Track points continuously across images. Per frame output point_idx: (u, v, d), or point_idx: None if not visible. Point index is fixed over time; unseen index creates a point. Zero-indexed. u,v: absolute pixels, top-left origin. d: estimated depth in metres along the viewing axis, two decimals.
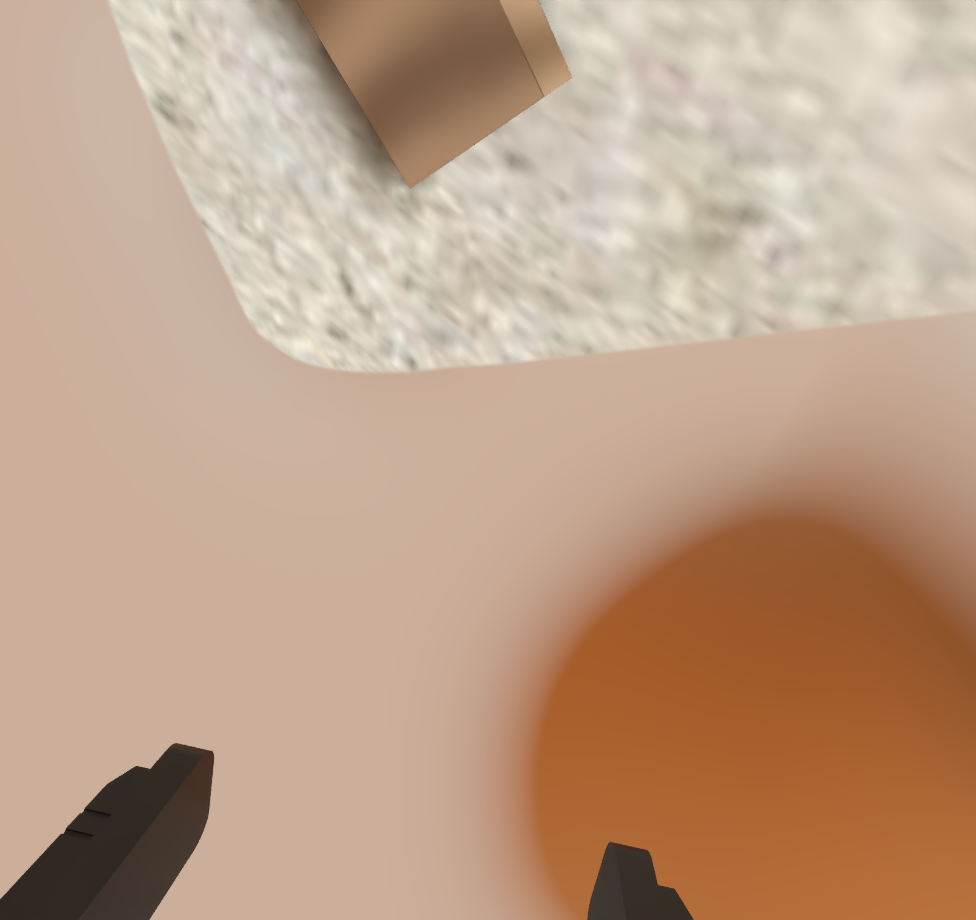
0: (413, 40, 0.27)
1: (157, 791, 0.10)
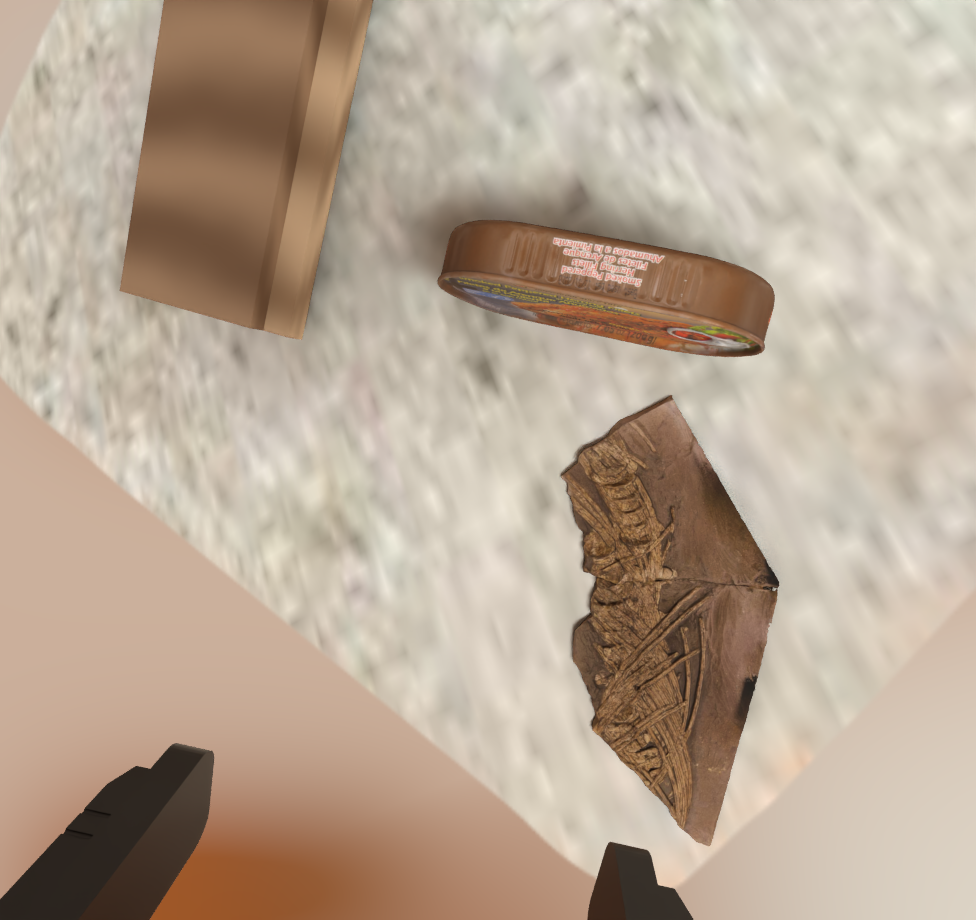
0: (198, 210, 0.30)
1: (157, 791, 0.10)
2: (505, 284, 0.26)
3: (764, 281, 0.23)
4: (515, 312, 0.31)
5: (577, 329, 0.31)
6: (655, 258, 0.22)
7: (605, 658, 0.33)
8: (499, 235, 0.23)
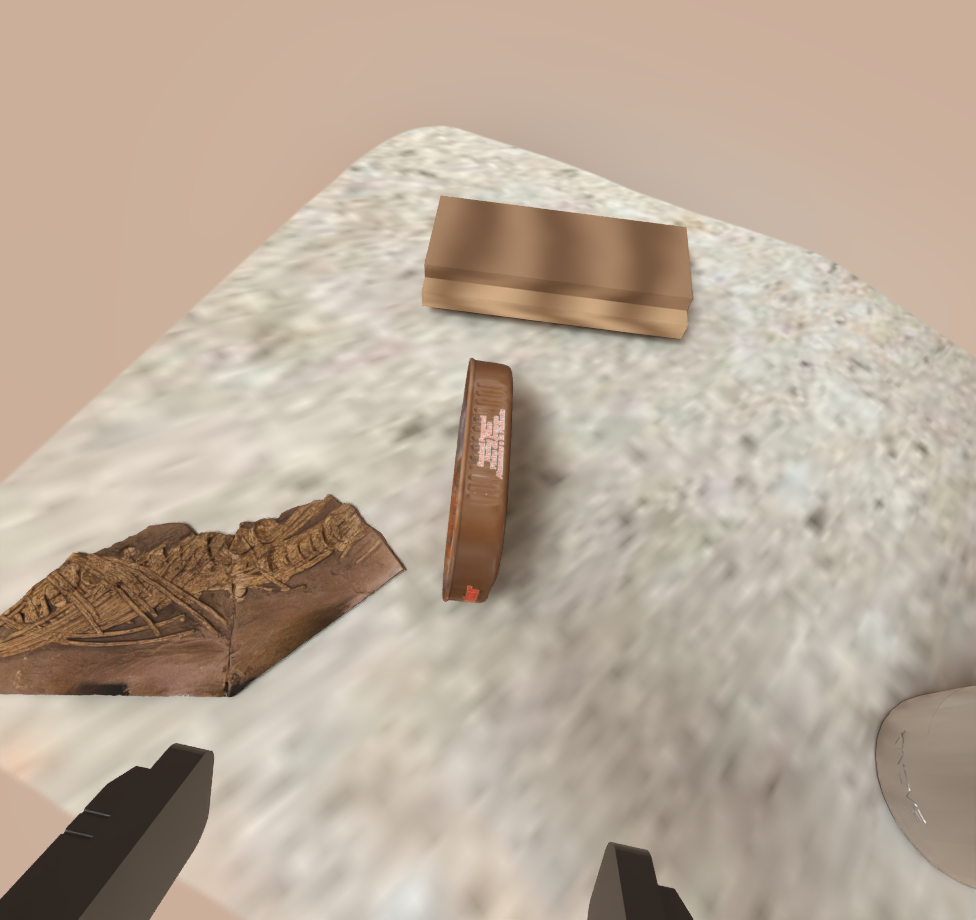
0: (498, 235, 0.45)
1: (157, 791, 0.10)
2: None
3: (496, 564, 0.29)
4: (460, 443, 0.39)
5: (453, 489, 0.38)
6: (499, 473, 0.30)
7: (152, 551, 0.34)
8: (501, 378, 0.33)
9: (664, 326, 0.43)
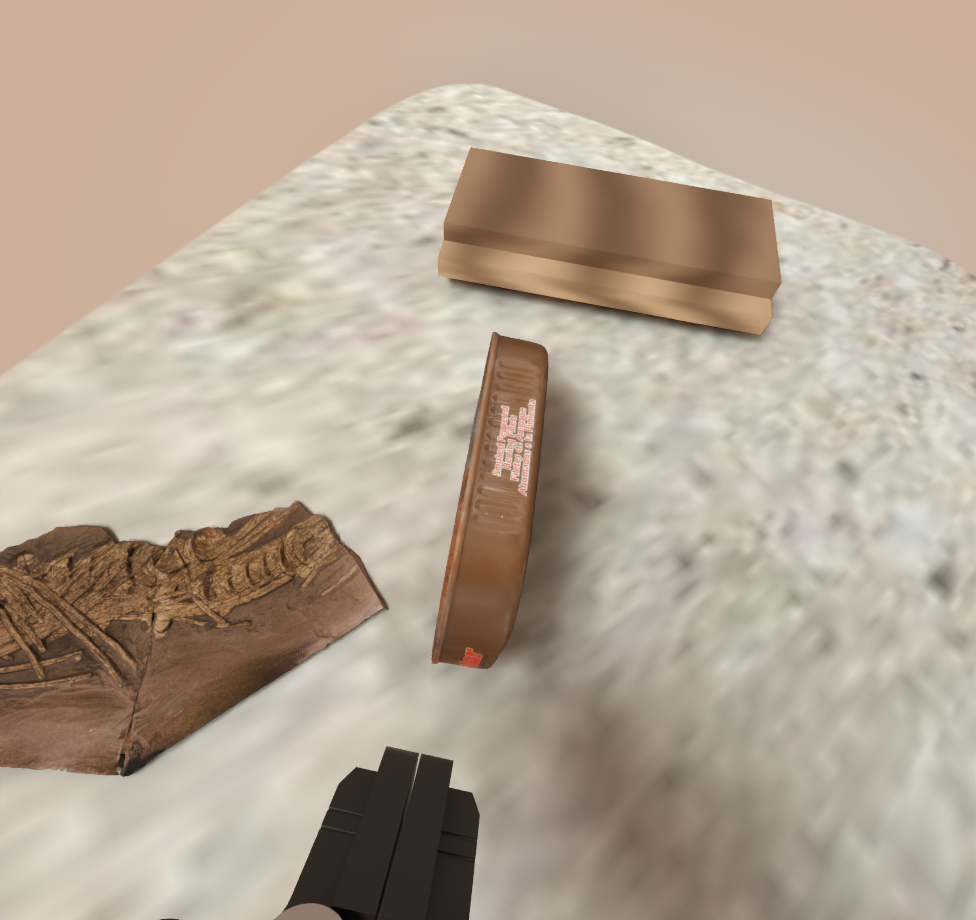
0: (538, 195, 0.36)
1: (393, 790, 0.11)
2: None
3: (510, 621, 0.20)
4: (473, 447, 0.30)
5: (459, 506, 0.29)
6: (523, 488, 0.21)
7: (54, 562, 0.26)
8: (533, 358, 0.24)
9: (741, 316, 0.34)
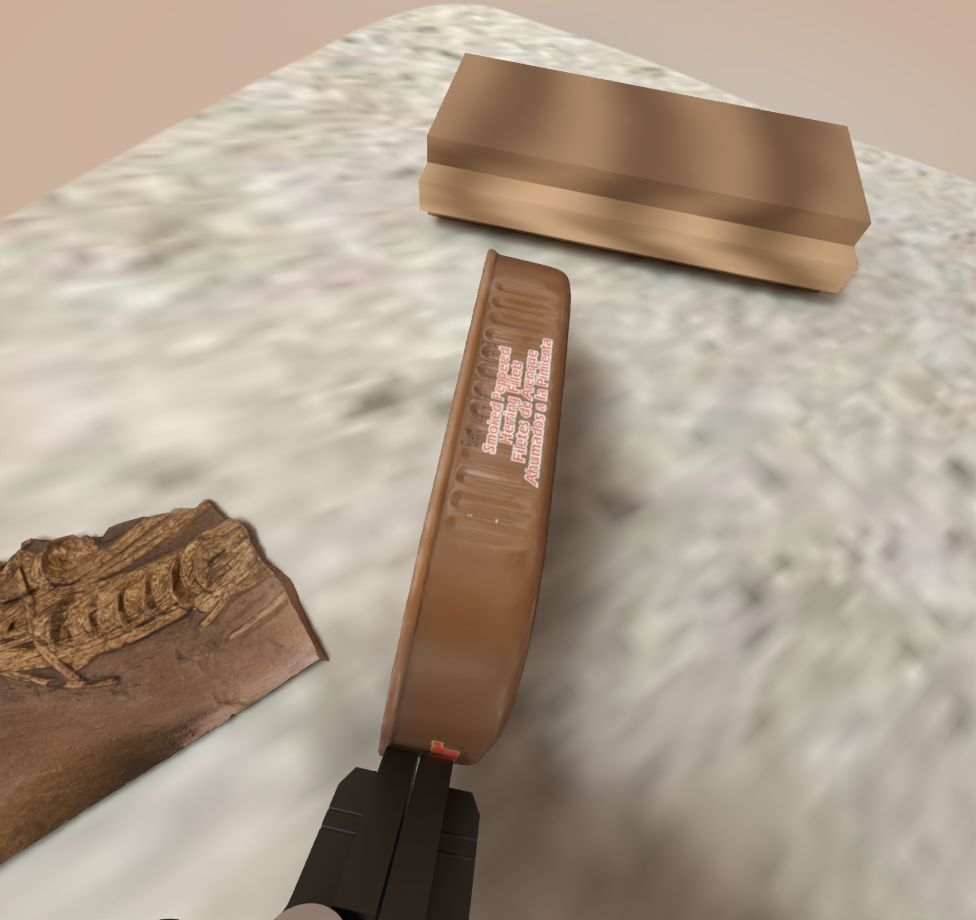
0: (551, 109, 0.28)
1: (393, 790, 0.11)
2: None
3: (508, 700, 0.11)
4: None
5: None
6: (532, 474, 0.13)
7: None
8: (548, 281, 0.16)
9: (816, 268, 0.26)
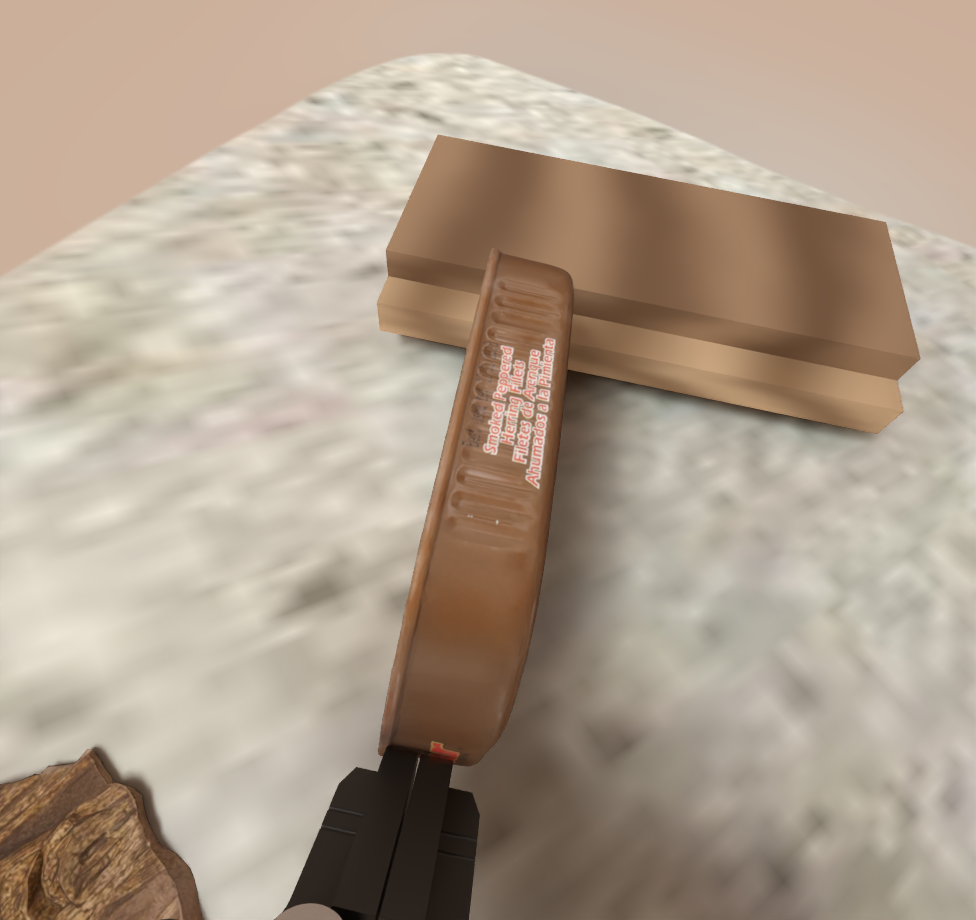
0: (536, 209, 0.24)
1: (393, 790, 0.11)
2: None
3: (508, 702, 0.11)
4: None
5: None
6: (533, 475, 0.12)
7: None
8: (552, 280, 0.16)
9: (852, 408, 0.22)
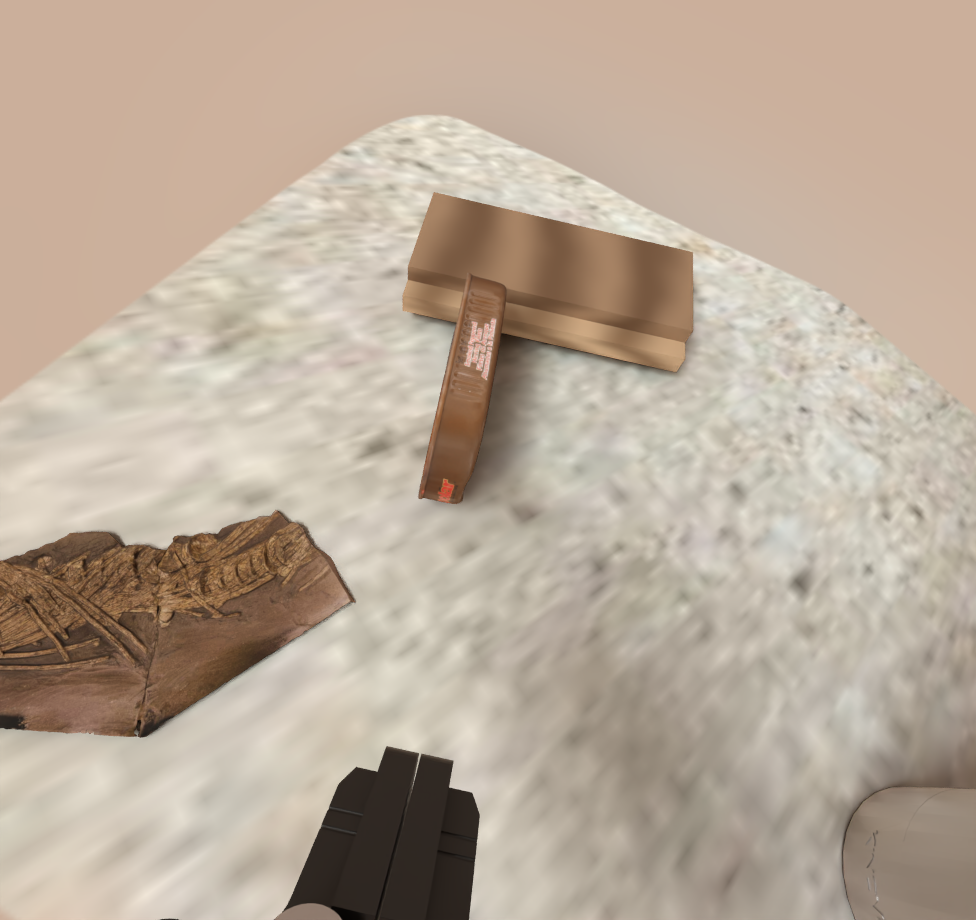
0: (492, 242, 0.41)
1: (393, 790, 0.11)
2: None
3: (473, 459, 0.30)
4: None
5: (438, 405, 0.39)
6: (484, 375, 0.31)
7: (70, 563, 0.31)
8: (495, 291, 0.34)
9: (659, 357, 0.40)
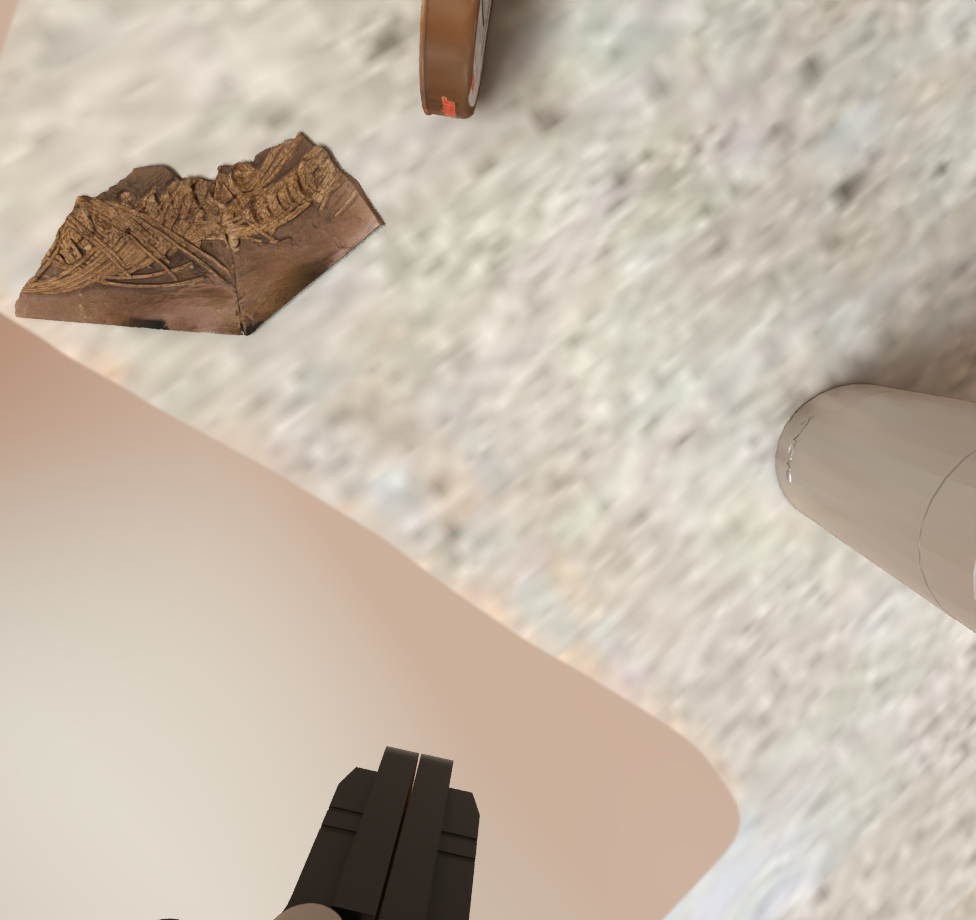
0: None
1: (393, 790, 0.11)
2: None
3: (468, 72, 0.27)
4: None
5: None
6: None
7: (145, 198, 0.36)
8: None
9: None
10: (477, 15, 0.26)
